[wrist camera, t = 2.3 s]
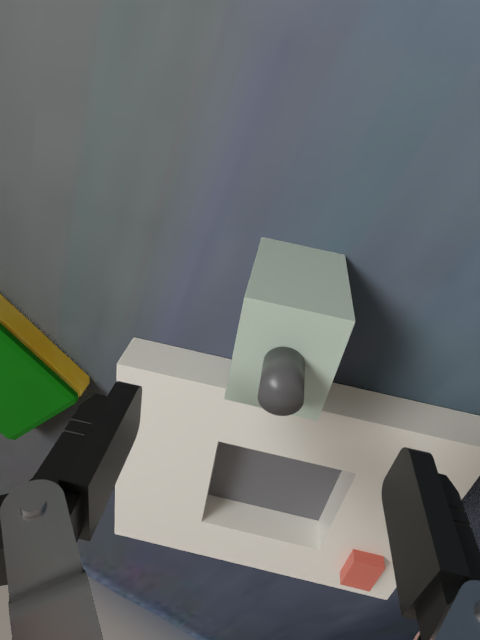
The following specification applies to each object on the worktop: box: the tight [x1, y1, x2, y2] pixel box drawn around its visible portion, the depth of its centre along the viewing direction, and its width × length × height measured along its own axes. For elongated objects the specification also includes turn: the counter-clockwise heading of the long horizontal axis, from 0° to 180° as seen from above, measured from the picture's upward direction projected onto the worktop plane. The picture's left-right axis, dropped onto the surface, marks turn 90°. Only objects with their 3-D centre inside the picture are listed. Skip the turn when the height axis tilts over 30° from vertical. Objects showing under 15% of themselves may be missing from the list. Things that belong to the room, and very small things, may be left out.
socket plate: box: [115, 337, 480, 600], centre depth 27 cm, size 20×16×3 cm
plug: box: [224, 237, 355, 421], centre depth 18 cm, size 4×5×8 cm
